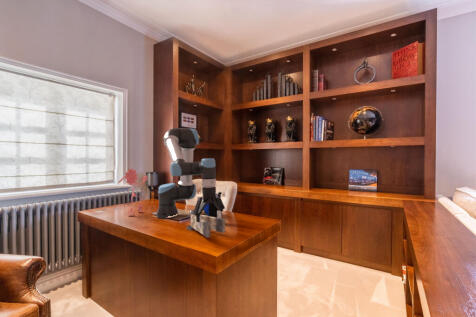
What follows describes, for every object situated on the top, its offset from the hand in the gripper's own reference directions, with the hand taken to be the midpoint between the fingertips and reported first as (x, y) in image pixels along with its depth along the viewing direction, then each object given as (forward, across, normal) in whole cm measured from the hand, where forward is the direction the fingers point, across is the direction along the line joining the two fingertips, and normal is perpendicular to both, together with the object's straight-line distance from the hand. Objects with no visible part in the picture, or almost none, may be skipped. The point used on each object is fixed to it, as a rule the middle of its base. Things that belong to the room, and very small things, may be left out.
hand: (209, 225), depth 128 cm
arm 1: (+4, -3, +5) cm, 7 cm away
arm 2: (+4, +3, +5) cm, 7 cm away
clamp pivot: (+6, 0, +18) cm, 19 cm away
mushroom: (+6, +25, +32) cm, 41 cm away
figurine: (+5, -13, +82) cm, 83 cm away
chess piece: (+6, +16, +17) cm, 24 cm away
